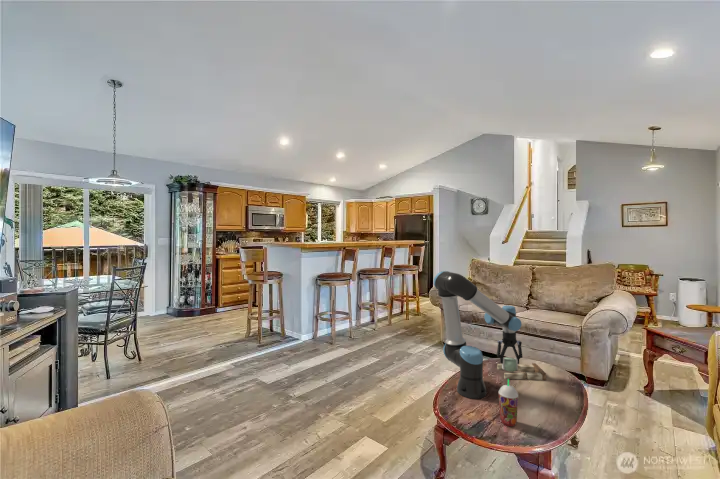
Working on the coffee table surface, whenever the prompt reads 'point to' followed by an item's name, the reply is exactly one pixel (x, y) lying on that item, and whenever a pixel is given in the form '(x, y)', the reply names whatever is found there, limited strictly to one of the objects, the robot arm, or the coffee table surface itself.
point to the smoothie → (508, 404)
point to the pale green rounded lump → (510, 364)
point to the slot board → (531, 370)
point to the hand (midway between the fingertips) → (509, 368)
